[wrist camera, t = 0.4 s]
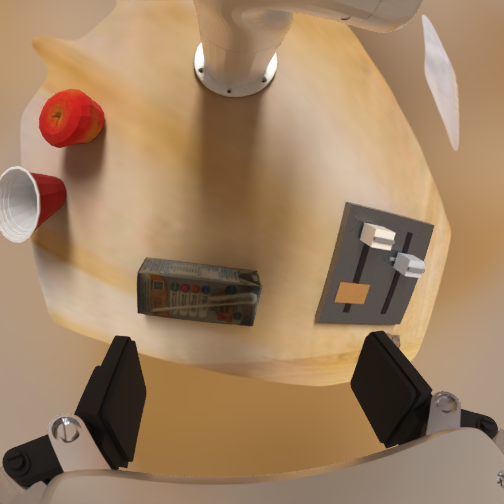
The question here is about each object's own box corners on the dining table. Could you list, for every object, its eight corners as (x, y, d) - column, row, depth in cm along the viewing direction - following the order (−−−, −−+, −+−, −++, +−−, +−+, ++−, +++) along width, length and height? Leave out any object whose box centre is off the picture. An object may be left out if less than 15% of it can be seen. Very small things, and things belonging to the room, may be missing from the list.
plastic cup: (60, 148, 36) (18, 149, 25) (88, 199, 40) (51, 214, 29) (23, 186, 37) (-18, 198, 26) (50, 234, 41) (12, 256, 29)
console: (346, 201, 45) (351, 203, 43) (428, 223, 48) (434, 225, 46) (314, 316, 52) (318, 322, 49) (395, 319, 55) (400, 324, 53)
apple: (119, 103, 36) (88, 88, 24) (101, 153, 38) (65, 154, 27) (77, 94, 34) (40, 81, 23) (61, 141, 36) (21, 141, 25)
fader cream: (364, 222, 44) (377, 229, 40) (383, 226, 44) (397, 233, 40) (359, 239, 45) (372, 248, 40) (378, 243, 45) (392, 251, 41)
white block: (398, 252, 46) (411, 261, 42) (413, 255, 47) (426, 263, 43) (393, 267, 47) (406, 277, 43) (408, 269, 48) (421, 279, 44)
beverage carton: (250, 310, 50) (254, 331, 44) (143, 297, 47) (134, 316, 41) (258, 269, 47) (263, 286, 41) (144, 255, 44) (133, 270, 38)
